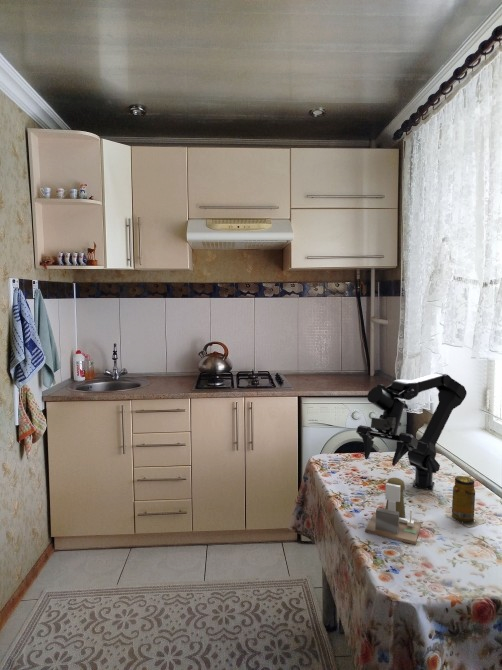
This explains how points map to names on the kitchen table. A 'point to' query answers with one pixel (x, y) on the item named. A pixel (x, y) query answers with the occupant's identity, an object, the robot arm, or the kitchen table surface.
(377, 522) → the board
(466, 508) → the condiment
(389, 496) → the block
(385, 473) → the kitchen table surface
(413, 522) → the pointer
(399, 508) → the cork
